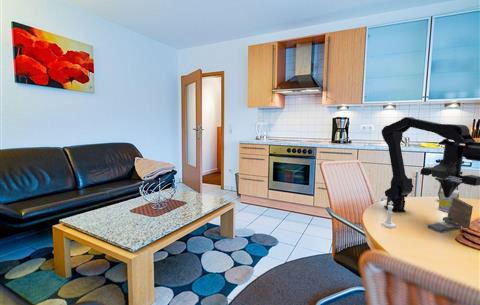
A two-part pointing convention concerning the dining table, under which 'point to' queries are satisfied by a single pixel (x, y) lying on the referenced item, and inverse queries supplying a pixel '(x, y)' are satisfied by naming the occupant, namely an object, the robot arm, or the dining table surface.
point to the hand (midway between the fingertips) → (446, 197)
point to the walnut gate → (460, 212)
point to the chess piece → (389, 217)
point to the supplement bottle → (446, 200)
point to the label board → (444, 225)
